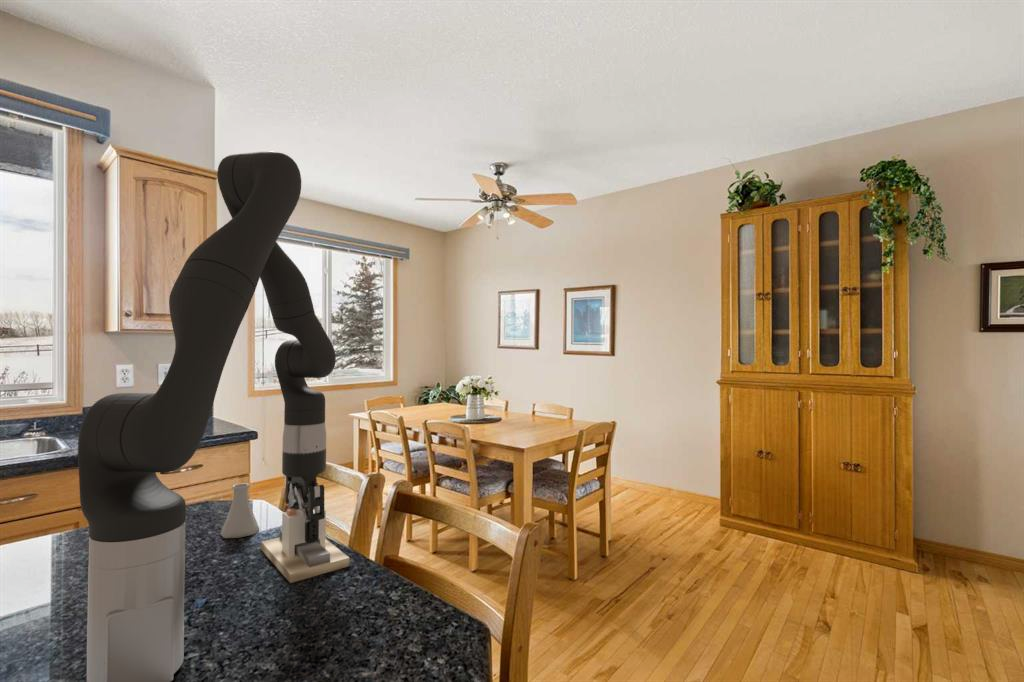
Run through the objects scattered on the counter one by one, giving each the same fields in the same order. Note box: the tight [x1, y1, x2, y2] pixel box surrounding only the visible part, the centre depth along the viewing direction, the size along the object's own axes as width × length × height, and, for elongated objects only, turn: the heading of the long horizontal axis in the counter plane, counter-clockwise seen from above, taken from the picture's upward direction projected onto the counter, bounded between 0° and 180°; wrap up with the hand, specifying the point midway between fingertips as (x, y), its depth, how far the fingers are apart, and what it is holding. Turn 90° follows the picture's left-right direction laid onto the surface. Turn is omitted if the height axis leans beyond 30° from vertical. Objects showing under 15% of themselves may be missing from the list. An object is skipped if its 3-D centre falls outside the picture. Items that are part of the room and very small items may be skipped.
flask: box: [219, 482, 260, 539], centre depth 104 cm, size 7×7×10 cm
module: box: [281, 508, 327, 558], centre depth 92 cm, size 4×6×8 cm, turn 131°
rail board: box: [260, 529, 350, 584], centre depth 92 cm, size 18×10×3 cm, turn 41°
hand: (303, 535), depth 92 cm, fingers open, 8 cm apart
